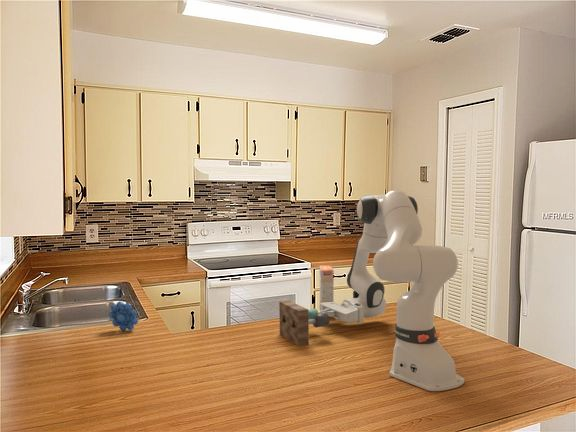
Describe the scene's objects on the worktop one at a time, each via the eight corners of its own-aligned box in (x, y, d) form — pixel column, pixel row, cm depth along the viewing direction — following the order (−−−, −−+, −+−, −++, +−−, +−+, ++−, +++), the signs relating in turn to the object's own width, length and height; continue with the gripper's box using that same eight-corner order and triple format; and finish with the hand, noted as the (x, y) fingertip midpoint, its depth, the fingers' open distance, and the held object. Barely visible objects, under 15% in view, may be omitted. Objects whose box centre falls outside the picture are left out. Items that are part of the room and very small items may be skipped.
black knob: (329, 326, 177) (329, 314, 177) (299, 331, 171) (299, 319, 171) (323, 323, 181) (323, 312, 181) (293, 328, 175) (293, 316, 175)
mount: (308, 344, 171) (308, 309, 170) (298, 346, 169) (298, 310, 169) (288, 332, 185) (288, 300, 185) (279, 334, 184) (279, 301, 183)
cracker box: (334, 316, 208) (334, 270, 207) (320, 316, 208) (320, 270, 207) (332, 308, 222) (331, 264, 221) (319, 308, 222) (318, 264, 221)
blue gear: (105, 334, 186) (104, 304, 186) (111, 329, 193) (110, 300, 192) (134, 333, 186) (134, 303, 186) (140, 328, 193) (139, 299, 192)
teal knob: (318, 321, 184) (318, 310, 184) (289, 326, 178) (289, 314, 178) (312, 318, 188) (312, 307, 188) (283, 323, 182) (283, 311, 182)
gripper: (336, 297, 202) (308, 300, 196) (364, 307, 184) (335, 311, 178) (336, 311, 203) (308, 315, 197) (365, 323, 184) (335, 328, 178)
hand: (321, 313), depth 187 cm, fingers closed
